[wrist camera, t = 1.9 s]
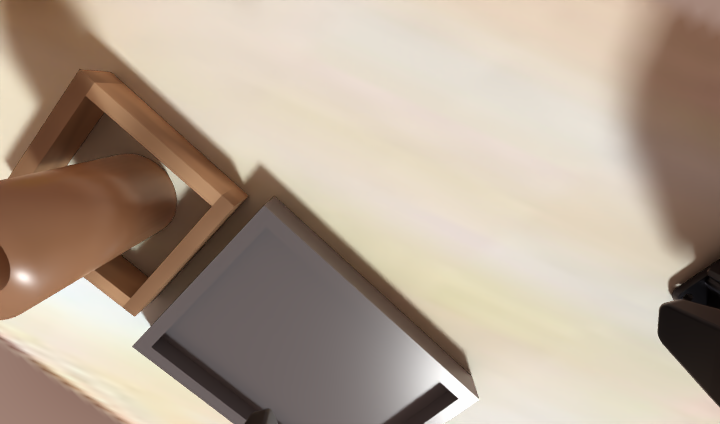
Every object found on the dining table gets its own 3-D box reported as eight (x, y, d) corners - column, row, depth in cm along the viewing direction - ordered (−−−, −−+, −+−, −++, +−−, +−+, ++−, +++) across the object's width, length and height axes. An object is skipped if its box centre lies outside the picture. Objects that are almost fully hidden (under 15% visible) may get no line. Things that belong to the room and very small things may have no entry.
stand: (248, 196, 20) (234, 206, 18) (155, 297, 22) (134, 316, 20) (111, 72, 18) (79, 69, 17) (26, 194, 21) (-10, 204, 19)
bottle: (193, 195, 20) (-34, 312, 9) (146, 249, 21) (-105, 411, 10) (124, 135, 19) (-215, 185, 8) (79, 195, 21) (-268, 307, 10)
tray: (471, 376, 22) (479, 399, 21) (337, 473, 26) (334, 500, 24) (274, 196, 20) (264, 205, 18) (150, 327, 23) (132, 346, 21)
